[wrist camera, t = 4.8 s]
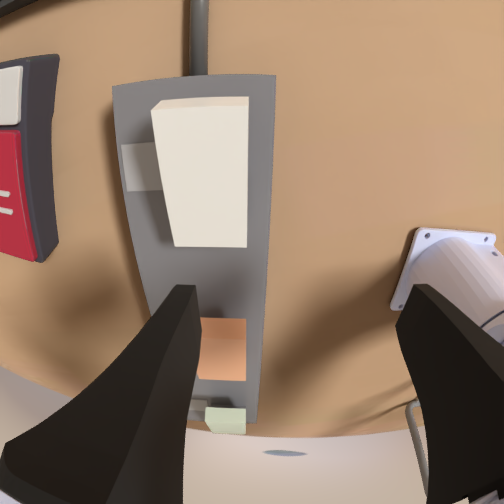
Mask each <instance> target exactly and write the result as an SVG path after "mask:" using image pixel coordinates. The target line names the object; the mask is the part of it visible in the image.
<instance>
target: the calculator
mask: <svg viewBox="0 0 504 504" xmlns="http://www.w3.org/2000/svg"><path fill="white" fill-rule="evenodd" d="M59 60H60V57H59V55H58V54H48V55H39V56H32V57H25V58H20V59H15V60H10V61H5V62H1V63H0V252H3V253H6V254H9V255H12V256H15V257H18V258H22V259H25V260H28V261H32V262H34V261H36V262H40V263H43V262H44V261H45V260H46V258H47V257H48V256H49V254H50V253H51V252H52V251H53V249H54V248H55V247H56V246H57V244H58V243H59V239H58V232H57V224H56V214H55V203H54V190H53V174H52V154H51V119H52V116H53V113H54V102H55V91H56V82H57V74H58V67H59Z"/></svg>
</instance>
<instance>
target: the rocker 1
mask: <svg viewBox="0 0 504 504" xmlns="http://www.w3.org/2000/svg"><path fill="white" fill-rule="evenodd" d="M151 116H152V123H153V130H154V137H155V144H156V150H157V157H158V163H159V169H160V174H161V180H162V186H163V191H164V196H165V202H166V207H167V212H168V217H169V222H170V226H171V231H172V236H173V240H174V245H175V247H241V248H247V208H248V119H249V97H200V98H184V99H171V100H161V101H160V102H159V103H158V104H157V105H156V106H155V107H154V108H153V109H152V110H151Z"/></svg>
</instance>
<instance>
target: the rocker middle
mask: <svg viewBox="0 0 504 504" xmlns="http://www.w3.org/2000/svg"><path fill="white" fill-rule="evenodd" d="M200 320H201V327H202V336H201V347H200V357H199V363H198V368H197V375H198V377H199V379H208V380H230V381H246V319H234V318H204V317H200Z"/></svg>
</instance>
